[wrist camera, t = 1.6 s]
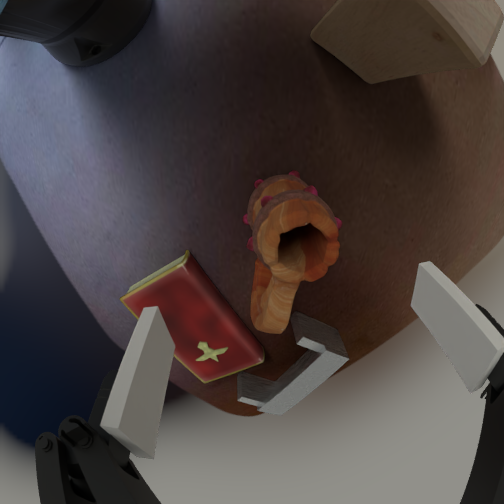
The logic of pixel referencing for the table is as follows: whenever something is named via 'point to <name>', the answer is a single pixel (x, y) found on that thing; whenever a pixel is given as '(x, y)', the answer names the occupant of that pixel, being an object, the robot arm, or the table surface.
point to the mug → (287, 245)
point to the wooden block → (409, 35)
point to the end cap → (297, 368)
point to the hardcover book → (197, 320)
